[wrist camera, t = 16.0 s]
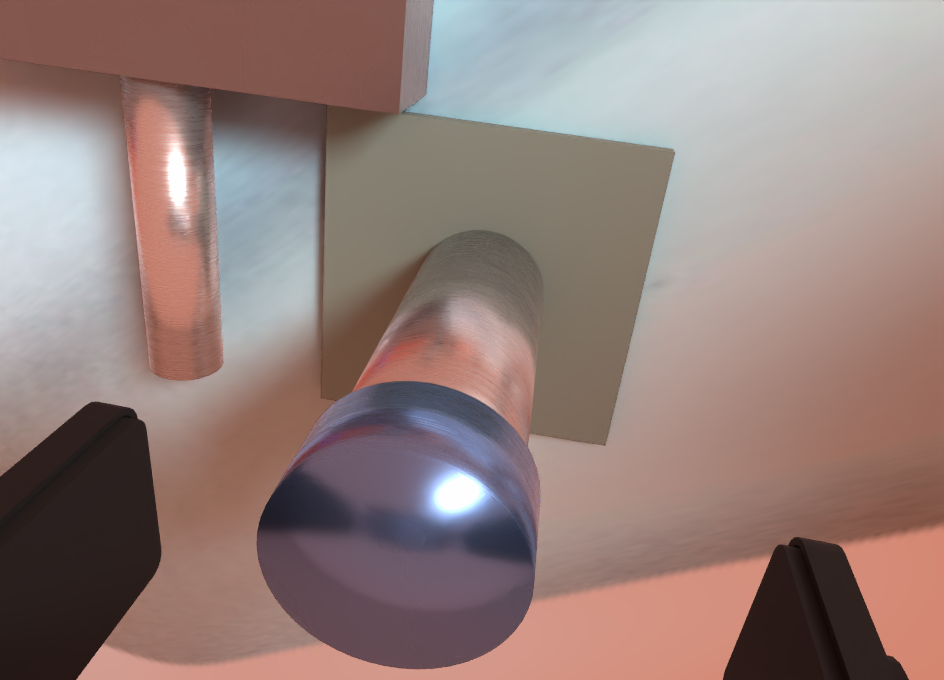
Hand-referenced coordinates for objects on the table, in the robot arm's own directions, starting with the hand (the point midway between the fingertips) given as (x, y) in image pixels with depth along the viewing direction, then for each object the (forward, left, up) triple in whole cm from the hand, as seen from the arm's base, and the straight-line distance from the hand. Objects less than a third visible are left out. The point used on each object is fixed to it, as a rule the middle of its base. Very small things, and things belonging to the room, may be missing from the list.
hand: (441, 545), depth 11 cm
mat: (+1, 0, -11) cm, 11 cm away
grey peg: (+1, 0, -11) cm, 11 cm away
